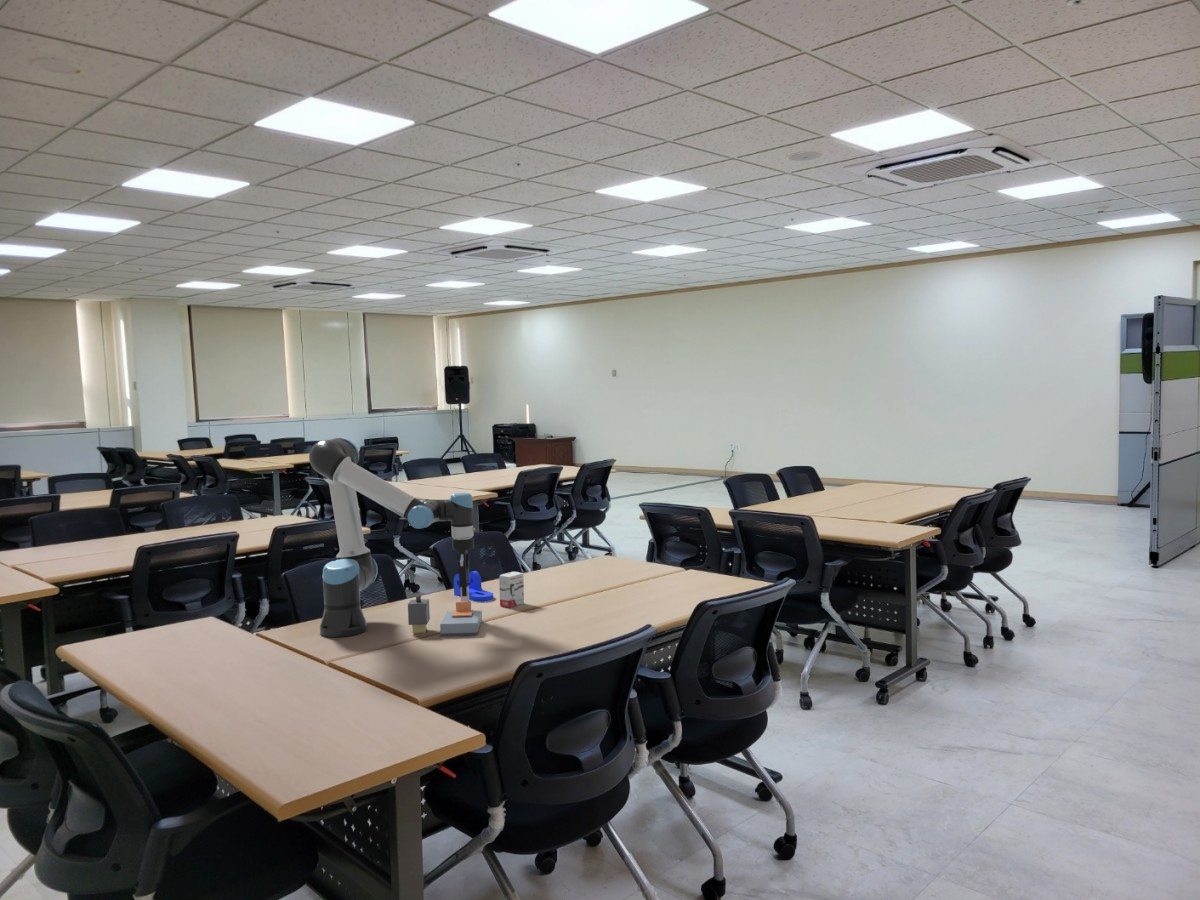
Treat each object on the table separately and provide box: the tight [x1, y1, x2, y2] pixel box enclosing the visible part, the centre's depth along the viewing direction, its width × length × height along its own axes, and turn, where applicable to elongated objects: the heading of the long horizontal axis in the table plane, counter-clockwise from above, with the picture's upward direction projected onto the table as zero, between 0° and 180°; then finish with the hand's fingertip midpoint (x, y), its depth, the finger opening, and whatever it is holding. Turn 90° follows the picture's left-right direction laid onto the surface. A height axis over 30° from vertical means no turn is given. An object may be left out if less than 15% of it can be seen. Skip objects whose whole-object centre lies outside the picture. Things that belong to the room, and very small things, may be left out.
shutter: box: [452, 600, 474, 617], centre depth 282 cm, size 7×7×3 cm
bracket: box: [453, 570, 494, 603], centre depth 323 cm, size 18×8×9 cm, turn 42°
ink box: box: [498, 571, 525, 609], centre depth 310 cm, size 9×5×12 cm, turn 143°
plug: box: [407, 594, 431, 634], centre depth 278 cm, size 6×6×12 cm
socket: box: [439, 609, 483, 637], centre depth 279 cm, size 12×16×4 cm
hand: (465, 604), depth 290 cm, fingers closed
